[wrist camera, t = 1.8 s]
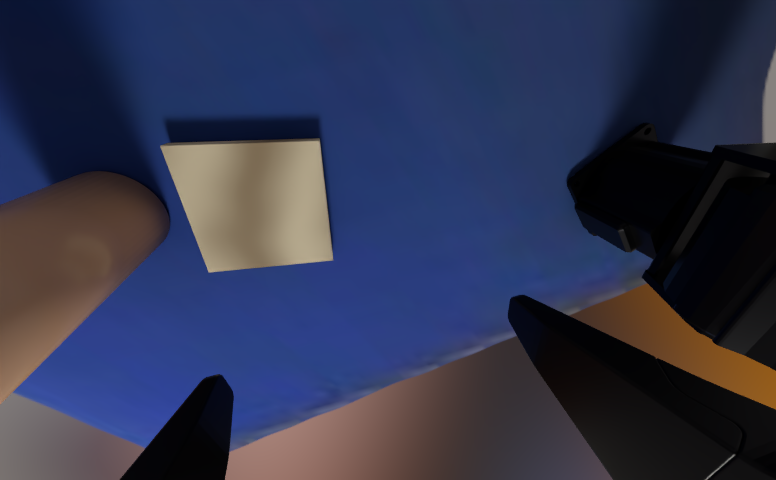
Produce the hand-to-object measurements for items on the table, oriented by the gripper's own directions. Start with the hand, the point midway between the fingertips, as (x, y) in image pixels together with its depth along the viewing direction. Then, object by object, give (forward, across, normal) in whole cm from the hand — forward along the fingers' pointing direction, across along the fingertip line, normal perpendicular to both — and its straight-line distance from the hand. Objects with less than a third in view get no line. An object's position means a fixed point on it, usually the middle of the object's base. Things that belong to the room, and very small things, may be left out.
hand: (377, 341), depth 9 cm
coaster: (+12, +5, -1) cm, 13 cm away
